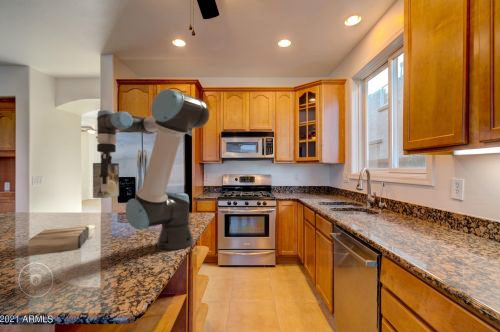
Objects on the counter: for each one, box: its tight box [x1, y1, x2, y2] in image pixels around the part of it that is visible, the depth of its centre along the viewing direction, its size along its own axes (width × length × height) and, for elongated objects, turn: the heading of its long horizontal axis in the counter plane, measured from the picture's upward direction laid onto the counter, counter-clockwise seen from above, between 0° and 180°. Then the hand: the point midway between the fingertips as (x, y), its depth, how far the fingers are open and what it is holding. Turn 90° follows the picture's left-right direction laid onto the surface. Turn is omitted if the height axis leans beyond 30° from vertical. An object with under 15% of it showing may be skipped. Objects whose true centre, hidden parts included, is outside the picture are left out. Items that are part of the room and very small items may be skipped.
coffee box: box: [92, 162, 120, 199], centre depth 112 cm, size 9×6×16 cm
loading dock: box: [27, 225, 90, 256], centre depth 104 cm, size 18×17×6 cm
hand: (106, 190), depth 112 cm, fingers closed on coffee box, 10 cm apart
